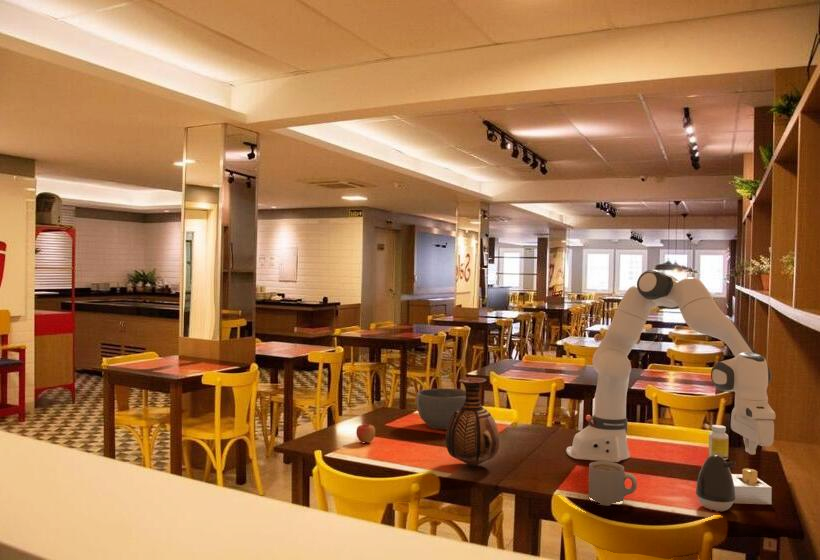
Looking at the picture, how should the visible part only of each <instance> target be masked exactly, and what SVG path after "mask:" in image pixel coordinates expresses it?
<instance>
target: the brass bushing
mask: <svg viewBox="0 0 820 560" xmlns="http://www.w3.org/2000/svg"><path fill="white" fill-rule="evenodd" d="M741 471H742V473H741V474H742V482H743V483H756V484H757V478H758V471H757V469H753V468H743V469H741Z"/></svg>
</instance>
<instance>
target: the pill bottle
mask: <svg viewBox="0 0 820 560" xmlns="http://www.w3.org/2000/svg"><path fill="white" fill-rule="evenodd" d="M711 430H712V431H711V432H710V433H709V434H708V457H710V456H712V455H717V456H720V457H722V458H723V459H724V460H725V461H726V460H728V459H729V439H730V438H729V435H728V434H727V433H726V431H727V428H726V426H724V425H721V424H712V425H711Z"/></svg>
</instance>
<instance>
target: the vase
mask: <svg viewBox="0 0 820 560" xmlns="http://www.w3.org/2000/svg"><path fill="white" fill-rule="evenodd" d="M487 381H488V380H487V378H484V377H483V378H482V377H465V378H461V379H458V382H459V383H462V384H463V386H464V389H465V391H466V398H465V403H464V405H463V407H461V408H460V409H458V410H457V411H455V412H454V414H453V415H452V417H451V419H450V421H449V424H448V427H447V429H446V433H445V447H446V450H447V452H448V454H449V456H451V457H452V458H455V459H456V460H459V461H461V462H463V463H465V464H466V465H468V466H469V467H471V468H475V467H477V466H478V465H480V464H482V463H485V462H487V461H489V460H492V459H493V458H495V457H497V455H498V452H499V449H500V434H499V430H498V425H497V423H496V421H495V419H494V416H493V415H492V414H491V412H490V411H488V410H487V409H486V408H484V407H483V406H482V403H481V400H480V390H481V387H482V386H483V384H484V383H485V382H486V383H487Z"/></svg>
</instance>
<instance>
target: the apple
mask: <svg viewBox="0 0 820 560" xmlns="http://www.w3.org/2000/svg"><path fill="white" fill-rule="evenodd" d="M375 435H376V428H375V426H374V425H372V424H364V422H362V424H361V425H358V426H357V428H356V437H357V439H358V440H359V442H361V443H362V442H367V443H368V442H370V441H371V442H373V440H374V438H375ZM371 442H370V443H371Z"/></svg>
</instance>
